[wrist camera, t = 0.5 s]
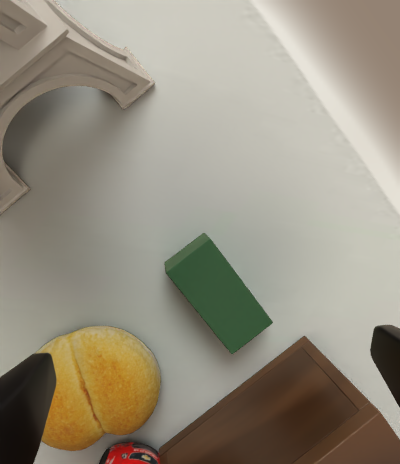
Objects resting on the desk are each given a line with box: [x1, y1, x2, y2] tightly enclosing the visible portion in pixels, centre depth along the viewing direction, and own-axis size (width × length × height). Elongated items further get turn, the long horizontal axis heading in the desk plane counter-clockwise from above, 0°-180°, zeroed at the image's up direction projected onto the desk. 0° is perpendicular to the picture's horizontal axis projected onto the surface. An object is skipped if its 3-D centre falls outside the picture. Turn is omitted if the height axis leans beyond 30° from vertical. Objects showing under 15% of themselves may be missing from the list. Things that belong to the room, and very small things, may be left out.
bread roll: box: [36, 326, 161, 451], centre depth 21 cm, size 8×9×4 cm
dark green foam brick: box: [165, 233, 273, 354], centre depth 22 cm, size 8×4×3 cm, turn 37°
